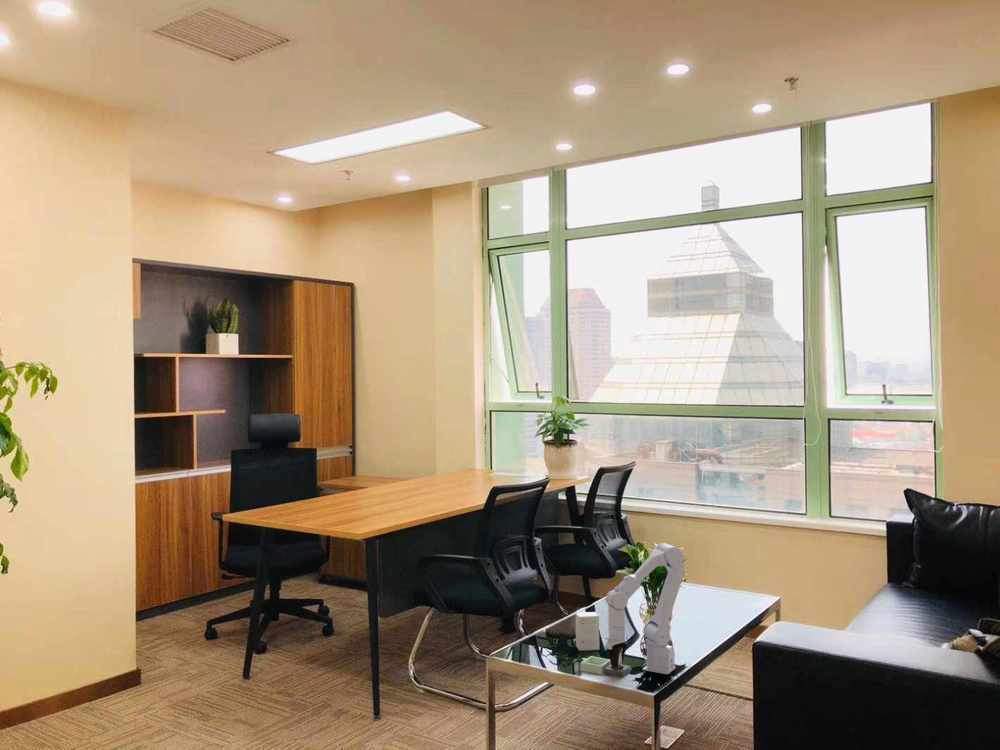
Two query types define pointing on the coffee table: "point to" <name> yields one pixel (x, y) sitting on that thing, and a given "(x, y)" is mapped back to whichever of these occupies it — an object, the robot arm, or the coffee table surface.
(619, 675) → the block
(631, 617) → the coffee table surface
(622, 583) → the robot arm
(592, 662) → the tray
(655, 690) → the coffee table surface
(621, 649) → the lock pin
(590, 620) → the small box
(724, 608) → the coffee table surface
